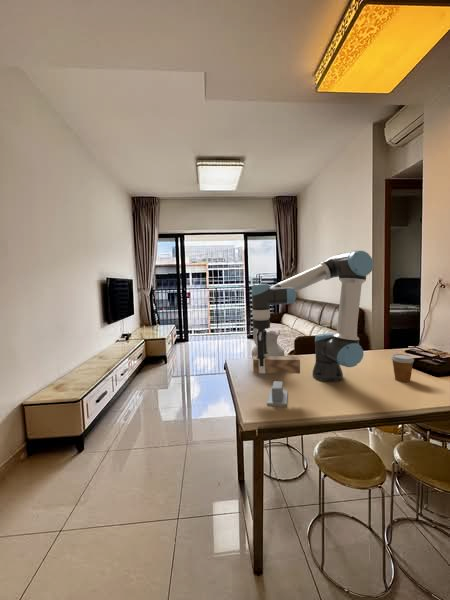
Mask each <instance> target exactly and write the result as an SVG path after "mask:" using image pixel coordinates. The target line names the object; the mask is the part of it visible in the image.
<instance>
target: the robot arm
mask: <svg viewBox="0 0 450 600" xmlns="http://www.w3.org/2000/svg"><path fill="white" fill-rule="evenodd" d="M373 269H374V261H373V258H372V256H371V255H370V254H369V253H368V252H367V251H365V250H352V251H347V252H341V253H336V254H335V255H332V256H331V257H329V258H327V259H324V260H323V261H321V262H318V264H317V266H315V267H312V268H310V269H308V270H305V271H303V272H301V273H298V274H296V275H293V276H292V277H289V278H287V279H285V280H282V281H280V282H277V283H276V284H273V285H271V286H270V284H268V283H255V284H253V285H252V286H251V302H252V303H251V304H252V311H251V314H252V319H253V320H252V328H253V329H254V328H255V329H258V333H257V332H256V334H257V336H256V339H257V347H258V357H257V359H258V360H259V373H258V374H266V373H265V357H264V356H267V355H266V354H268V352H266V351H267V344H266V339H267V338H266V335H267V332H268V331H267V330H266V329H269V328H271V319H270V318H271V309H270V306H273V305H275V306H276V305H288V304H289V305H290V304H294V303H295V302H296V300H297V299H296V298H297V293H296V292H299V291H301V290H303V289H306V288H308V287H310V286H312V285H314V284H317V283H318V282H321V281H323V280H325V281H328V280H330V279H333V278H334V279H335V278H337V277H338V280H339V281H340V282H341V287H340V295H339V296H340V298H339V307H338V316H337V323H336V332H335V333H331V332H328V333H327V332H326V333H319V334H316V335H315V336H314V337H315V338H314V346H315V347H314V348H315V349H314V350H315V354H314V355H315V363H314V366H313V369H312V377H313V378H314V379H316V380H318V381H322V382H323V381H324V382H327V383H328V382H334V383H335V382H340V381H342V380H343V379H344V373H343V371H342V367H341V366H343V367H347V368H353V367H354V368H355V366H356V367H357V365H358V364H360V363H361V362H362V360H363V358H364V349H363V347H362V346H361V345H360V338H359V336H358V335H357V333H358V332H357V329H358V320H359V315H360V314H359V313H360V303H361V296H362V294H361V293H362V285H363V284H364V283H365V282H366V281H367V276H368V275H370V273H371V272H372V271H373Z"/></svg>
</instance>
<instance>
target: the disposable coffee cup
mask: <svg viewBox="0 0 450 600" xmlns="http://www.w3.org/2000/svg"><path fill="white" fill-rule="evenodd" d="M391 360H392V366H393V374H394V380H395V381H398V382H401V383H410V382H411V378H412V372H413V365H414V361H415V359H414V356H412V355H410V354H405V353H404V354H403V353H395V354H392V355H391Z"/></svg>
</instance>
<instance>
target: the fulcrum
mask: <svg viewBox="0 0 450 600" xmlns="http://www.w3.org/2000/svg"><path fill="white" fill-rule="evenodd" d="M283 383H284V382H283V381H278V380H277V381H276V380H274V381H273V384H272V388H271V389H270V390H269V392H268V393H269V394H268V398H267V402H266V405H267V406H273V407H283V408H285V407H286V408H287V406H288V390H284V384H283Z"/></svg>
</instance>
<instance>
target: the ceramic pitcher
mask: <svg viewBox="0 0 450 600" xmlns="http://www.w3.org/2000/svg"><path fill="white" fill-rule="evenodd" d="M266 332H267V335H266V338H267V339H266V344H267V351H266V352H268V354H266V355H267V356H285V350H284V349H283V347H281V346H280V345H279V344H278V337H279V336H280V335H281V330H280V329H278V331H276V330H269V331H266ZM257 333H258V329H255V328H253V329H252V337H253V341H254V343H255V346H254V347H253V348H252V350H251V357H252V360H253V356H258V347H257Z"/></svg>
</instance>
